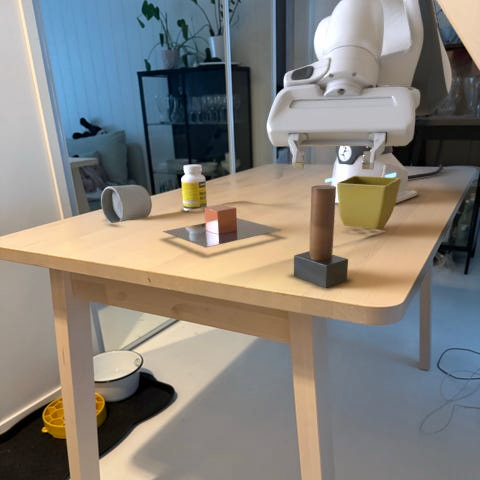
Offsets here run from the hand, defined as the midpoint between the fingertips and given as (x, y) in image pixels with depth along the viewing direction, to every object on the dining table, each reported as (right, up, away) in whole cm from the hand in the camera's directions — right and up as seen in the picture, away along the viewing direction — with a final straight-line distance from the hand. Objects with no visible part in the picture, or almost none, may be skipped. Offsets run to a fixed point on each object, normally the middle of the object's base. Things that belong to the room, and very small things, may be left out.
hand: (331, 166), depth 62 cm
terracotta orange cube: (-16, -5, +19) cm, 25 cm away
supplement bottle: (-23, +4, +43) cm, 49 cm away
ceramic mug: (-37, 0, +35) cm, 51 cm away
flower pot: (+10, -5, +21) cm, 24 cm away
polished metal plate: (-16, -6, +19) cm, 26 cm away
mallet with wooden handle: (-2, -15, -1) cm, 15 cm away
